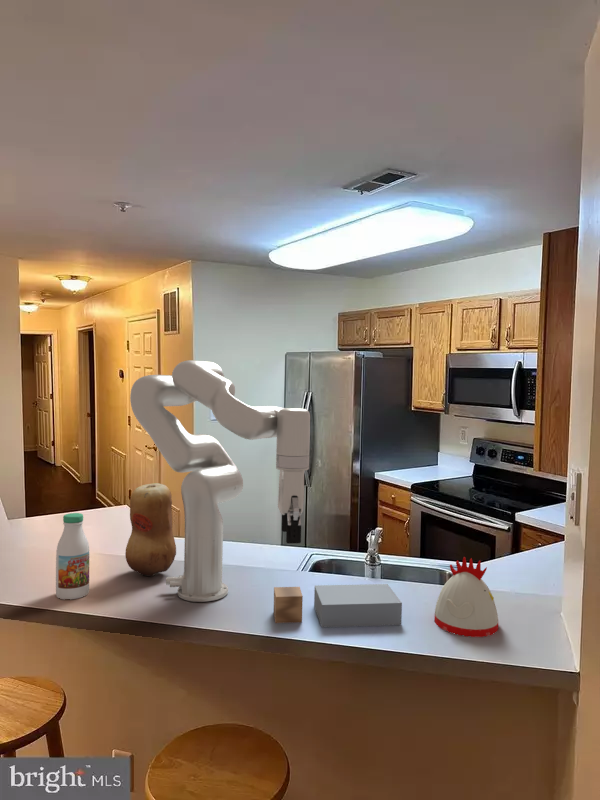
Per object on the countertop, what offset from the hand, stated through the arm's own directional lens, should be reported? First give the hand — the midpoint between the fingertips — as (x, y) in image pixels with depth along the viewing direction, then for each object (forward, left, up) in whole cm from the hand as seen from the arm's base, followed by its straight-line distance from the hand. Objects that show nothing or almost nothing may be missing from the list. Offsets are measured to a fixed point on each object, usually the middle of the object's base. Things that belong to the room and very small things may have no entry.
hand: (290, 536), depth 130 cm
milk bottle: (-52, +17, -19) cm, 58 cm away
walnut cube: (0, 0, -19) cm, 19 cm away
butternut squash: (-35, +31, -19) cm, 50 cm away
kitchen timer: (+40, -6, -19) cm, 44 cm away
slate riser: (+16, 0, -18) cm, 24 cm away
